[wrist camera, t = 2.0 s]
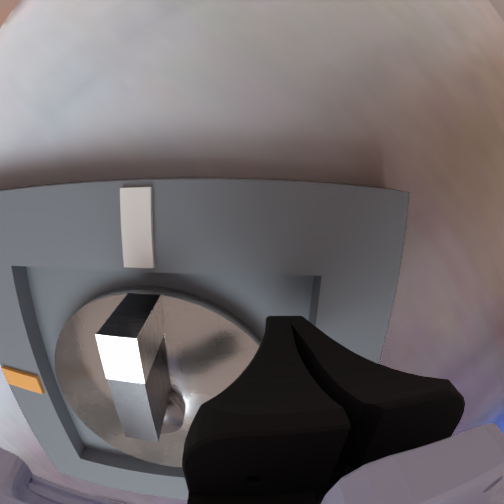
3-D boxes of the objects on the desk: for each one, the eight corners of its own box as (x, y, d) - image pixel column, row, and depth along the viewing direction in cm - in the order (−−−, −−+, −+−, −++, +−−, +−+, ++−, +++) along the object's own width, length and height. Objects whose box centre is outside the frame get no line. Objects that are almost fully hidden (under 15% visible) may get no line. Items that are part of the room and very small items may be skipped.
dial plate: (322, 474, 19) (328, 497, 16) (66, 454, 17) (57, 473, 15) (385, 188, 13) (412, 192, 11) (-11, 191, 12) (-40, 197, 10)
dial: (271, 459, 16) (277, 513, 12) (92, 442, 15) (73, 488, 11) (289, 289, 13) (312, 342, 9) (40, 279, 12) (-12, 316, 8)
